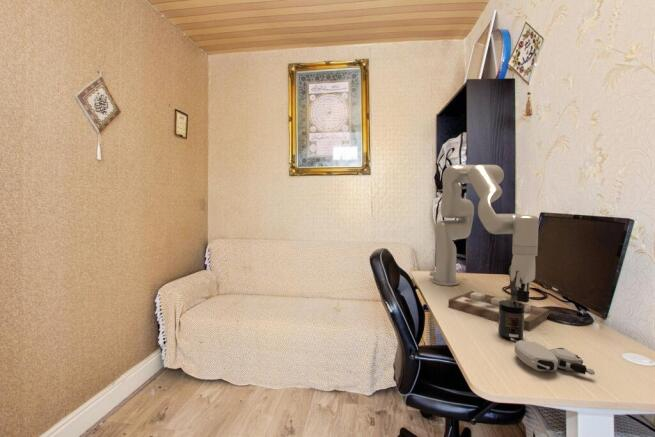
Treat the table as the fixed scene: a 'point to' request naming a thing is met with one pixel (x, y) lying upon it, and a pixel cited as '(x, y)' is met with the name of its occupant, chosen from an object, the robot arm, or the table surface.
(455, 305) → the button board
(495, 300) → the middle button
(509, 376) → the table surface
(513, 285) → the beverage cup
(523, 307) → the supplement container
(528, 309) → the button
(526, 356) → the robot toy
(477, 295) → the button
